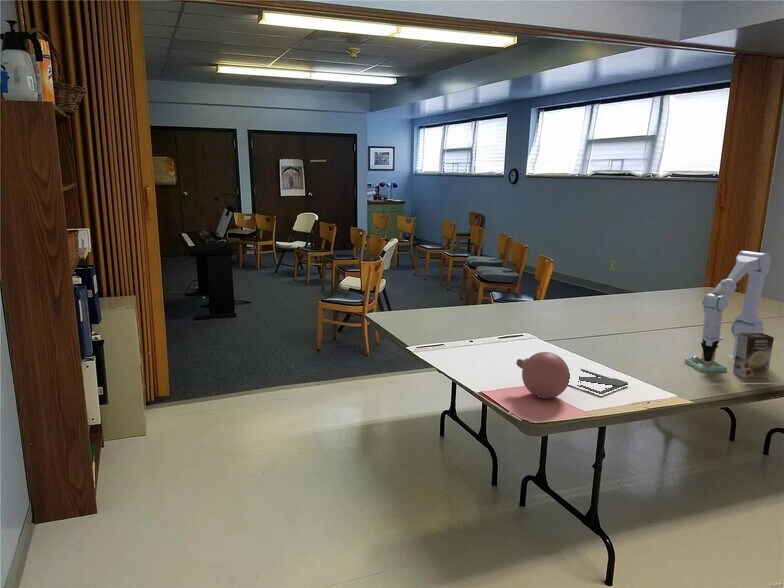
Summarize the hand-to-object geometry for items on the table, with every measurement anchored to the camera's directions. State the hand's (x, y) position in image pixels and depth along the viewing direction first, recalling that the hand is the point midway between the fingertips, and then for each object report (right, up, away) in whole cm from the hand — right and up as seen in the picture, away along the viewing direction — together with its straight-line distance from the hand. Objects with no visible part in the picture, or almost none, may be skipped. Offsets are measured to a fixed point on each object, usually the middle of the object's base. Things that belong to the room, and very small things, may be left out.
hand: (708, 359), depth 211 cm
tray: (-1, -3, +1) cm, 4 cm away
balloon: (-72, -9, -24) cm, 76 cm away
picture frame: (-51, -7, -14) cm, 53 cm away
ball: (-3, -2, +4) cm, 6 cm away
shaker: (0, -2, 0) cm, 2 cm away
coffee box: (+11, -6, -8) cm, 15 cm away
